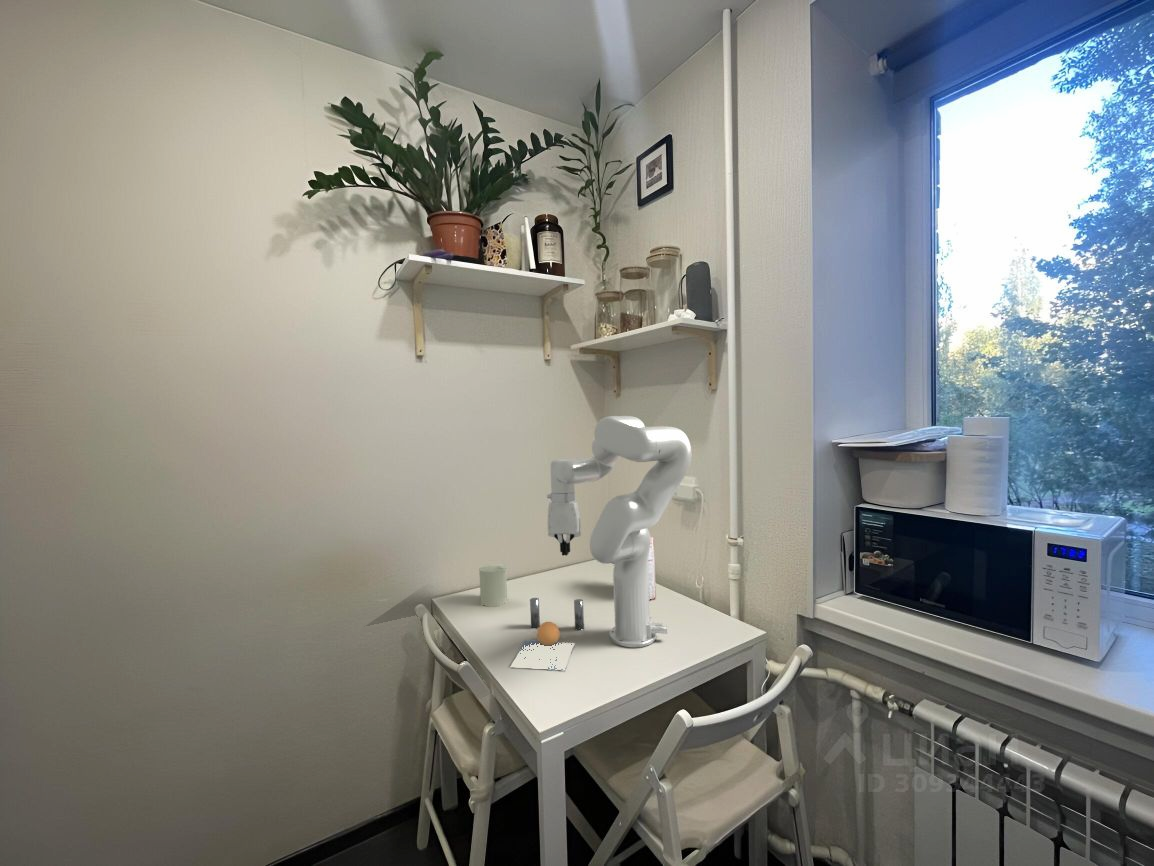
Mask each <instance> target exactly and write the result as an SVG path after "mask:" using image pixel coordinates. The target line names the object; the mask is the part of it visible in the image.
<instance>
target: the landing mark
mask: <svg viewBox="0 0 1154 866" xmlns="http://www.w3.org/2000/svg"><path fill="white" fill-rule="evenodd" d="M558 642H559V641H557V642H556V643H555V646H556V644H557V643H558ZM564 642H565V643H566V642H568V641H564ZM569 642H570V641H569ZM569 642H568V643H569ZM531 643H532V644H531ZM535 643H536V645H537V644H539V643H540V642H539V640H529V639H525V640H524V641H523V642H522V644H521V646H520V648H519V649H521V650H523V649H524V645H525V647H526V646H528V645H529V647H530V644H531V645H534V644H535ZM561 644H562V643H561ZM540 645H542V644H541V643H540ZM558 645H559V643H558ZM571 645H572V644H571ZM522 647H523V649H522ZM537 647H538V646H537ZM552 648H553V647H552ZM519 649H518V651H521V650H519ZM550 649H551V648H550ZM525 650H526V649H525ZM529 650H530V649H529ZM533 650H534V649H533ZM553 650H555V649H553ZM518 651H517V653H519V652H518ZM523 651H524V650H523ZM527 651H528V650H527ZM531 651H532V650H531ZM520 654H521V653H520ZM514 658H516V657H515V656H514ZM525 658H526V657H525ZM525 658H524V659H525ZM556 658H557V657H556ZM539 660H540V659H539ZM550 660H551V659H550ZM555 661H557V659H556V660H555ZM550 663H551V662H550ZM552 665H553V664H552ZM555 666H556V665H555ZM555 666H554V669H551V670H550V671H552V670H555V669H557V668H555ZM551 668H552V666H551ZM548 669H550V668H549V667H548ZM565 669H566V670H567V667H566V668H565ZM561 670H563V669H561Z"/></svg>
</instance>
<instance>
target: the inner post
mask: <svg viewBox="0 0 1154 866" xmlns="http://www.w3.org/2000/svg"><path fill="white" fill-rule="evenodd" d="M573 608H574V609H573V610H574V611H573V612H574V630H576V629H577V630H576V631H582V630H581V629H583V630H584V629H585V620H584V617H585V616H584V600H583V599H582V598H576V599H574V600H573Z"/></svg>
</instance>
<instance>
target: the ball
mask: <svg viewBox="0 0 1154 866" xmlns="http://www.w3.org/2000/svg"><path fill="white" fill-rule="evenodd" d="M536 637H537V641H539V642H540V643H541V644H542V645H544V646H552V645H554V644H555V643H556V642H559V641H558V640H559V639H560V629H559V627H558V625H557V624H556V623H554V622H553V621H545V622H543V623H540V627H539V628H537V632H536Z"/></svg>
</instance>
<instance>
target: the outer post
mask: <svg viewBox="0 0 1154 866" xmlns="http://www.w3.org/2000/svg"><path fill="white" fill-rule="evenodd" d="M529 609H530V613H529V614H530V628H531V629H533V628H536V629H538V628H539V627H540V625H541V621H540V620H541V618H540V615H541V614H540V599H539V597H531V598H529Z"/></svg>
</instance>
